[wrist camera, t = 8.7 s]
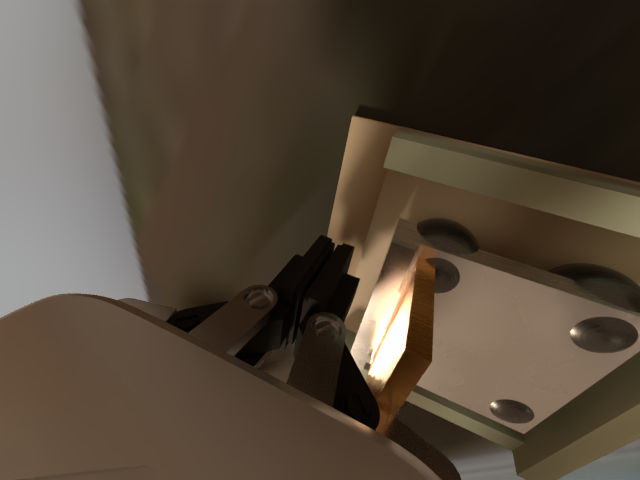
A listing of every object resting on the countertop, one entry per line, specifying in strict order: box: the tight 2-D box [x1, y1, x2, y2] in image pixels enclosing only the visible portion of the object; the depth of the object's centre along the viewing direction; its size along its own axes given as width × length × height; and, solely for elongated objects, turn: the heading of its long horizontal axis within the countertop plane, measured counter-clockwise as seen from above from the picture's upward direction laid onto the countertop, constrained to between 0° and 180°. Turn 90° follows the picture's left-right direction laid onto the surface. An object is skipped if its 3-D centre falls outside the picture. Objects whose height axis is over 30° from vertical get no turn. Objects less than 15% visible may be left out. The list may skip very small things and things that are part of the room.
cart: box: [350, 218, 640, 434], centre depth 10 cm, size 8×8×7 cm
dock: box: [327, 115, 640, 480], centre depth 11 cm, size 13×13×4 cm
